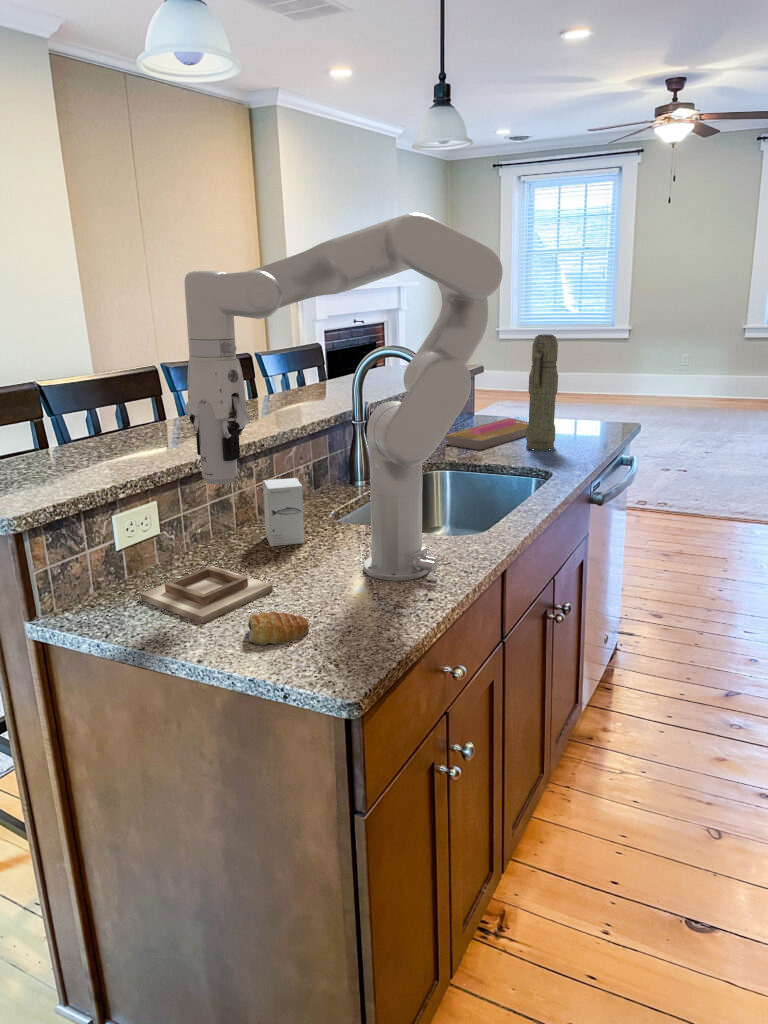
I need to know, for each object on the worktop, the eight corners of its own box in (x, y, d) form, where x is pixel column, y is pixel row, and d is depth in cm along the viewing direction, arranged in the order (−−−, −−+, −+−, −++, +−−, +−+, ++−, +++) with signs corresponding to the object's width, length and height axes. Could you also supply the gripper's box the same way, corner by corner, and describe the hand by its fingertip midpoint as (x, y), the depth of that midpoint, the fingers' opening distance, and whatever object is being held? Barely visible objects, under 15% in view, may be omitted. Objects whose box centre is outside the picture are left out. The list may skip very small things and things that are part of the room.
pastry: (304, 622, 123) (303, 601, 122) (312, 641, 117) (311, 618, 116) (246, 630, 120) (244, 608, 119) (251, 650, 114) (249, 627, 113)
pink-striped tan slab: (503, 429, 272) (504, 412, 270) (538, 434, 263) (539, 417, 261) (443, 446, 248) (443, 427, 246) (480, 452, 238) (480, 433, 236)
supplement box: (269, 547, 156) (266, 488, 152) (265, 536, 163) (262, 479, 159) (305, 544, 158) (302, 485, 154) (299, 533, 165) (297, 476, 161)
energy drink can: (205, 476, 134) (200, 391, 130) (240, 476, 134) (235, 391, 130) (199, 485, 128) (193, 396, 124) (235, 485, 129) (230, 396, 124)
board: (272, 590, 135) (271, 576, 134) (202, 623, 123) (201, 608, 122) (212, 571, 144) (210, 558, 143) (141, 599, 132) (139, 585, 131)
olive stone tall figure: (520, 450, 238) (525, 336, 227) (531, 443, 248) (536, 333, 238) (548, 453, 234) (555, 336, 224) (558, 445, 244) (564, 333, 234)
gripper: (265, 351, 123) (269, 460, 128) (197, 345, 133) (203, 446, 138) (229, 354, 117) (235, 468, 122) (160, 348, 127) (169, 453, 132)
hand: (218, 455), depth 130 cm, fingers closed on energy drink can, 6 cm apart
